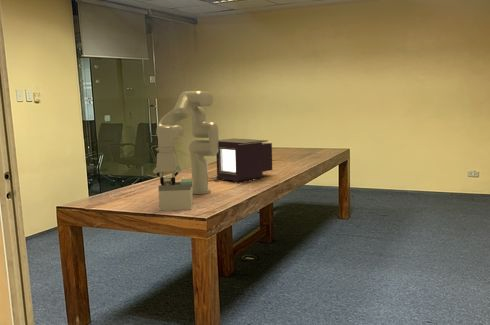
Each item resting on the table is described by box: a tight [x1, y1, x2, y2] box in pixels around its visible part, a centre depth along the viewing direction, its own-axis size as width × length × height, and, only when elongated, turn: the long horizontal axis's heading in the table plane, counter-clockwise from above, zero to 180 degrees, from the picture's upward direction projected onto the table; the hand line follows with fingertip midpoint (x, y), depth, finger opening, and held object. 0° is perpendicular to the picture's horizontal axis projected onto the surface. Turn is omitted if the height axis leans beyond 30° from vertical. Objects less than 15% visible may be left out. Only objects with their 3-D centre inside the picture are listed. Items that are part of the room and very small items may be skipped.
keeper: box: [179, 178, 192, 185], centre depth 237 cm, size 9×5×2 cm, turn 2°
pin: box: [163, 176, 172, 185], centre depth 237 cm, size 5×5×11 cm
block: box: [157, 181, 194, 211], centre depth 238 cm, size 12×16×12 cm
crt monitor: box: [215, 138, 273, 184], centre depth 322 cm, size 35×35×27 cm
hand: (167, 184), depth 237 cm, fingers closed on pin, 4 cm apart
